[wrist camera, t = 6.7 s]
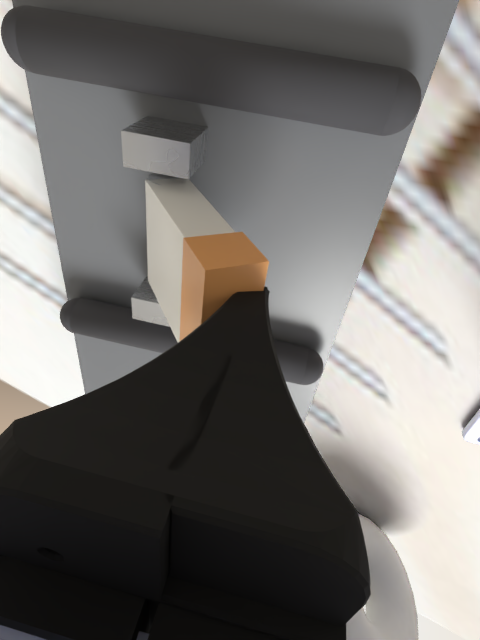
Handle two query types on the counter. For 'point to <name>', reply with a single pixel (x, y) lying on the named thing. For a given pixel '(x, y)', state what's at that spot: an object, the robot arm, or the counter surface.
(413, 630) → the donut
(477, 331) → the counter surface
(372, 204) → the box
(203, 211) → the lever
